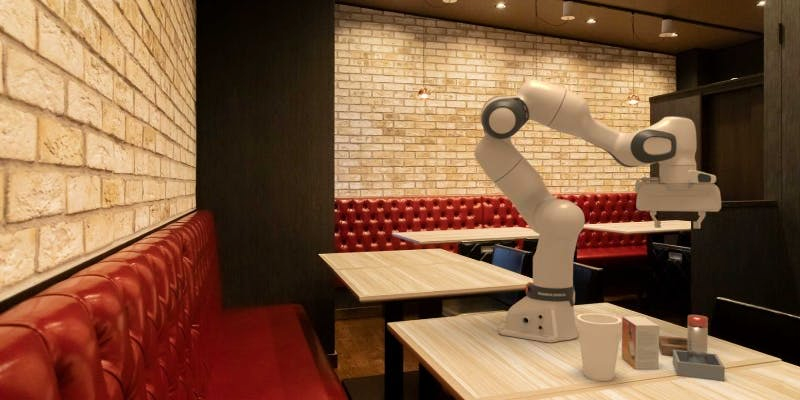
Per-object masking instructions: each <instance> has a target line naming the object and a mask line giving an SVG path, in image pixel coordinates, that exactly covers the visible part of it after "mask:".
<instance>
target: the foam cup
mask: <svg viewBox="0 0 800 400" xmlns="http://www.w3.org/2000/svg"><path fill="white" fill-rule="evenodd" d="M576 327H577V331H578V334H579V336H578V338H579V345H580V346H579V347H580V354H581V362H582V368H583V375H585V376H584V377H586V378H587V377H588V378H587V379H590V380H593V381H598V382H608V381H609V382H610V381H612V380H613V379H614V378H615V373H616V365H617V359H618V352H619V345H620V339H621V334H622V318H619V317H617V316H614V315H611V314H605V313H604V314H603V313H589V312H588V313H582V314H581V313H580V314H578V315H577V316H576Z"/></svg>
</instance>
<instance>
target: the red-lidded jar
mask: <svg viewBox="0 0 800 400" xmlns="http://www.w3.org/2000/svg"><path fill="white" fill-rule="evenodd" d="M708 321H709V317H708V316H704V315H699V314H688V315H687V338H688V340H687V362H690V363H699V364H707V353H708V343H709V342H708V341H709V340H708V339H709V337H708V334H709V333H708V331H709V329H708V327H709V322H708Z"/></svg>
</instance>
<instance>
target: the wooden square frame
mask: <svg viewBox="0 0 800 400" xmlns="http://www.w3.org/2000/svg"><path fill="white" fill-rule="evenodd" d="M687 340H688V337H678V336H669V335H668V336H667V335H659V352H660V354H661V356H667V357H673V350H681V351H687Z"/></svg>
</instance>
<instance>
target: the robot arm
mask: <svg viewBox="0 0 800 400" xmlns="http://www.w3.org/2000/svg"><path fill="white" fill-rule="evenodd" d="M479 114H480V115H479V116H480V123H481V126H482V127H483V133H484V136H483V137H482V138H481V140H479V141H478V143H477V144H476V146H475V148H474V153H473V154H474V157H475V160H476V162H477V163H478V164H479V166H480V168H481V169H482V170H483V172H484V173H485V175H486V176H487V177H488V178H489V179H490V180H491V182H493V184H494V185H495V186H496V187H497V188H498V189H499V190H500V191H501V193H503V194H504V195H505V197H506V198H507V199H508V200H509V201H510V202H511V204H512V205H513V206H514V208H515V209H516V210H517V212H518V213H519V214H520V216H521V217H522V219H523V220H524V221H525V222H526V224H527V225H528V227H529V228H530V229H531V230H532V231H534V233H536V234H537V235H538V242H537V246H536V251H535V252H534V254H533V256H532V282H531V281H530V282H527V283H526V285H525V295H526V296H524V297H523V298H522V299H519V301H517V302H515V304H513V305H512V306H510V308H509V309H508V310H507V314H506V318H505V321H503V322H501V323H500V324H499V325H498V329H497V331H498V334H500V335H501V336H502V335H503V336H507V337H512V338H513V337H514V338H519V339H524V340H525V339H526V340H530V341H536V342H537V341H538V342H542V343H543V342H544V343H556V342H559V341H560V342H561V341H570V340H574V339H576V338H579V332H578V329H577V321H576V318H575V311H574V309H575V308H574V306H575V303H576V291H575V286H574V280H573V279H574V257H575V252H576V247H577V242H578V239H579V235H580V233H581V232H582V230H583V229H584V227H585V222H586V219H585V218H586V217H585V215H584V212H583V210H582V209H581V208H580V207H579V206H578V205H577V204H575V203H573V202H572V201H570V200H568V199H562V198H561V199H559V198H557V197H555V196H554V195H553V194H552V193H551V192H550V190H549V189H548V188H547V185H546V184H545V182H544V180H543V178H542V175H540V173H539V172H538V170H536V169H535V167H533V165H532V164H531V163H530V162H529V161H528V160H527V158H525V157H524V156H523V154H522V153H520V151H519V150H518V149H517V148H516V147H515V145H514V144H513V142H512V139H511V137H513V136H515V135H516V134H517V133H518V132H519V131H520V130H521V129H522V127H523V126H525V124H526V123H528V121H531V122H535V123H538V124H540V125H543V126H544V127H547V128H549V129H552V130H554V131H557V132H560V133H563V134H566V135H570V136H572V137H577V138H579V139H582V140H584V141H586V142H588V143H590V144H592V145H593V146H596V147H598V148H600V149H602V150H604V151H605V152H606V153H608V154H609V155H610V156H611V157H612V158H613V160H614V161H615V162H617V164H619V165H620V166H622V167H624V168H636V167H640V166H649V165H653V164H655V163H658V165H659V170H658V173H659V175H658V176H659V177H658V176H655V177H654V176H652V177H646V176H645V177H644V176H643V177H641V178H639V179H637V180H636V181H635V183H634V188H635V189H634V190H635V192H636V193H637V196H636V202H635V204H636V205H635V207H636V209H637V210H638V211H639V212H643V211H645V212H649V214H650V217H651V219H652V220H653V222H654V228H656V229H659V228H660V229H661V228H662V225H661V224H662V221H660V220H658V219H657V218H656V216H657V212H697V215H698V216H699V217H698V219H697V220H696V221H693V229H701V224H702V222H703V220H704V219H705V217H706V212H710V213H711V212H715V213H716V212H719V211H720V210H721V209H722V196H721V190H720V188H719V187H718V186H717V185H716V184H715V183H716V182H717V176H716V175H715V174H712V173H711V174H710V173H706V172H705V171H701V170H700V171H699V170H697V162H696V158H695V157H696V156H695V155H696V152H697V129H696V125H695V123H694V122H693V119H690V118H689V117H686V116H681V115H680V116H677V115H669V116H668V115H667V116H664V117H663V118H661V120H659V121H658V122H655V123H654V124H652V125H650V126H648V127H644V128H642V129H640V130H636V131H632V132H631V131H630V132H629V131H628V132H624V131H623V132H621V131H618V130H617V129H614V128H613V127H610V126H607V124H604V123H602V122H600V121H598V120H596V119H595V118H594V117H593V116H592V115H591V110H590V106H589V103H588V101H587V100H585V99H584V98H583V97H581V96H580V95H579V94H577V93H575V92H574V91H571V90H569V89H566V88H564V87H562V86H560V85H557V84H554V83H551V82H547V81H544V80H539V79H533V78H532V79H529V80H527V81H526V82H524V83H522V85H521V87H520V88H519V90H518V92H517V93H516V94H515V95H514V96H511V97H508V96H504V95H495V96H493V97H491V98H489V99H488V100H487V101H486V102H485V103H484V104H483V106H482V107H481V111H480V113H479Z"/></svg>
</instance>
